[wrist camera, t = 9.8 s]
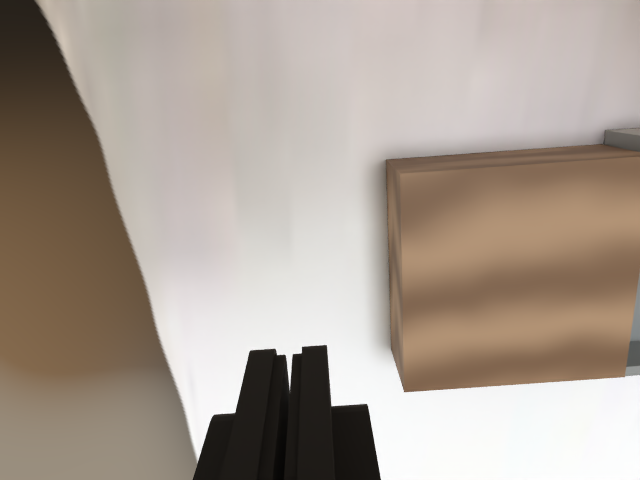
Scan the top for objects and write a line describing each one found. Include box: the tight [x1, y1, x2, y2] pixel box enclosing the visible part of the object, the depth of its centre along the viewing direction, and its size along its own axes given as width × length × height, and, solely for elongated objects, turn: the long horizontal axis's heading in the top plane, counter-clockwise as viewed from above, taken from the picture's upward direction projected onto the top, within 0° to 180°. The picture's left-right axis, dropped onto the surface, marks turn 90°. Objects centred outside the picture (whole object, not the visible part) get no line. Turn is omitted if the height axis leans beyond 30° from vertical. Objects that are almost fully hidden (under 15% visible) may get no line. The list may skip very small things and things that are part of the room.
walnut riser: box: [386, 144, 640, 392], centre depth 36 cm, size 16×16×6 cm
